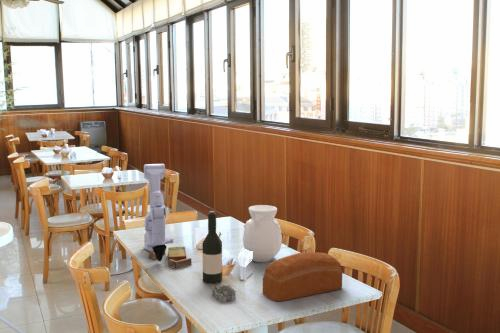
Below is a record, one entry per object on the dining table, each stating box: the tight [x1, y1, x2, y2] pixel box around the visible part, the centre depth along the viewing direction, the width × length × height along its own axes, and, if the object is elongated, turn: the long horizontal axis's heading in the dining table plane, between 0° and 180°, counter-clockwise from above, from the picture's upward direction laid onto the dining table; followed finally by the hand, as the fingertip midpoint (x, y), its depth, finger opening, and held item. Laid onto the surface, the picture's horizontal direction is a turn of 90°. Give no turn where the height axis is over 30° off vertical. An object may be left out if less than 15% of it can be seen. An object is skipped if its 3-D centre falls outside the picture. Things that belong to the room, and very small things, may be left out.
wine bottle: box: [201, 210, 223, 285], centre depth 243 cm, size 8×8×30 cm
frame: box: [148, 250, 192, 270], centre depth 271 cm, size 22×9×3 cm, turn 43°
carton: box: [167, 246, 187, 261], centre depth 274 cm, size 8×16×4 cm, turn 9°
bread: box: [262, 251, 343, 302], centre depth 233 cm, size 14×33×16 cm, turn 118°
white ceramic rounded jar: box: [242, 204, 283, 263], centre depth 272 cm, size 19×18×25 cm
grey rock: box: [211, 284, 237, 303], centre depth 227 cm, size 11×8×4 cm
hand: (159, 260), depth 267 cm, fingers closed
